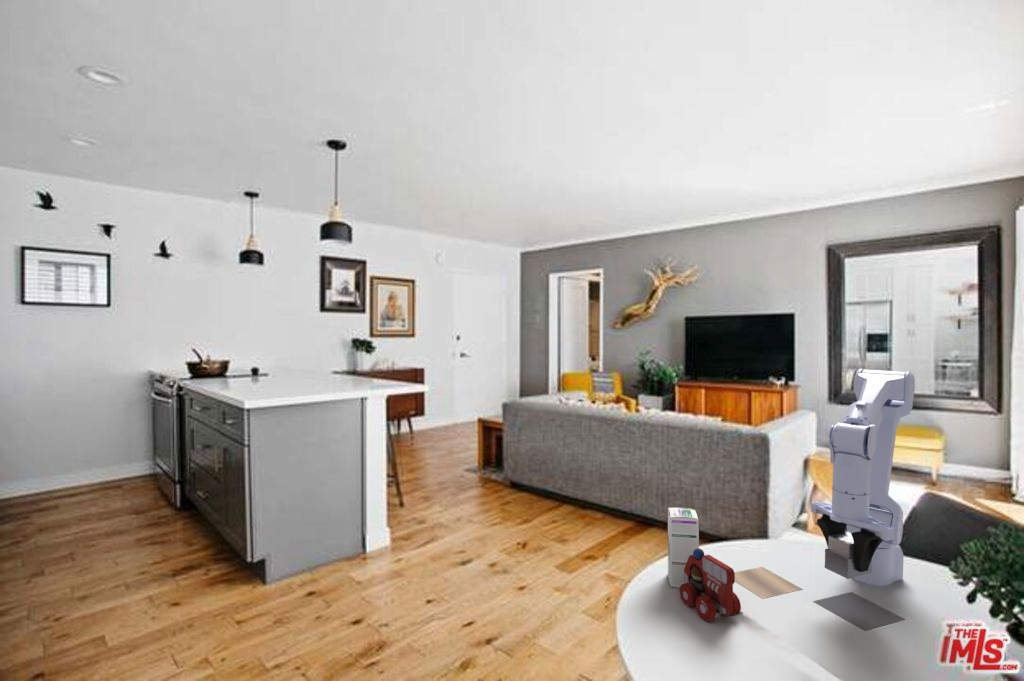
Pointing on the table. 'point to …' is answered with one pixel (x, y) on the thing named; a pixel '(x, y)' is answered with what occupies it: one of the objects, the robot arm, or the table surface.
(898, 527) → the robot arm
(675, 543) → the syrup box
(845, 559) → the housing
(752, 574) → the stand
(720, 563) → the toy fire truck
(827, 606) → the stand
